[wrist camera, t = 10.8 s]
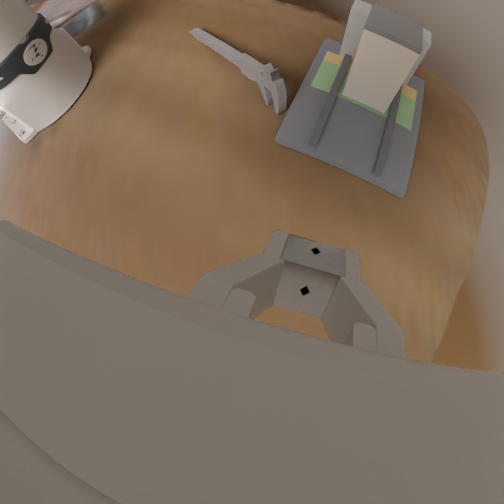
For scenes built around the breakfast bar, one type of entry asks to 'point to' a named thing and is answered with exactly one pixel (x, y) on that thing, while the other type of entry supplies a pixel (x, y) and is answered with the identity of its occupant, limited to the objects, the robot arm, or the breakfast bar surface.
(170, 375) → the robot arm
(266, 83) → the caliper
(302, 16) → the breakfast bar surface
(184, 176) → the breakfast bar surface
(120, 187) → the breakfast bar surface
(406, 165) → the grey holder
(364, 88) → the cream rectangular box
